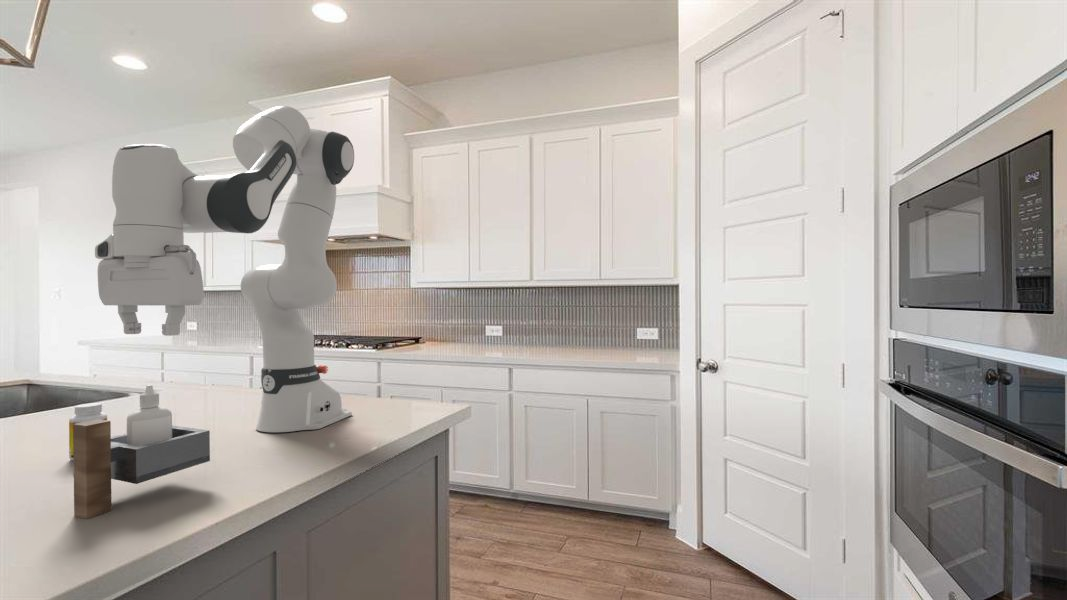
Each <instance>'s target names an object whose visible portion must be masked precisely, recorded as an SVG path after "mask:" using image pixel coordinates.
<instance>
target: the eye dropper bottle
mask: <svg viewBox="0 0 1067 600" xmlns="http://www.w3.org/2000/svg"><path fill="white" fill-rule="evenodd" d="M145 386H146V387H145V390H144V392H143V393H141V394H140V395H139V408H140V409H136V410H134V411H133V412H131V413H129V415H127V416H126V434H127V444H129V445H135V446H143V445H147V444H151V443H155V442H159V441H163V440H167V439H171V438H172V426H173V417H172V416H173V414H172V411H171V410H170V409H169V408H167V407H162V406H160V393H159V392H157V391H155V390H154V387H153V385H152V384H148V385H145Z"/></svg>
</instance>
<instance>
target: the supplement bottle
mask: <svg viewBox="0 0 1067 600" xmlns="http://www.w3.org/2000/svg"><path fill="white" fill-rule="evenodd" d="M97 419H100V420H107V421H108V415H107V413H106V412H103V404H102V403H101V402H91V403H81V404H78V405H75V406H74V415H72V416H71V417H70V418H69V419H68V440H69V441H68V447H69V449H68V450H69V451H68V454H69V455H68V456H69V459H70V461H72V462H74V458H73V424H76V423H81V422H86V421H92V420H97Z"/></svg>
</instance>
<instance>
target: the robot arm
mask: <svg viewBox="0 0 1067 600" xmlns="http://www.w3.org/2000/svg"><path fill="white" fill-rule="evenodd" d="M310 127H311V126H310V124H309V122H308V120H307V119H306V116H304V114H303V113H302V112H301V111H299V110H298V109H296V108H294V107H292V106H288V105H278V106H274V107H271V108H269V109H266V110H264V111H262V112H259V113H258V114H256V115H254V116H253V117H252V118H249V120H247V121H246V122H244V123H243V124H242V125H241V126H240V127H239V128H238V129H237V130H236V132H235V133H234V136H233V137H232V147H233V152H234V155H235V157H236V159H237V160H238V162H239V163H240V164H241V165H242V167H244V168H245V169H246V170H247V171H246V172H239V173H238V172H237V173H232V174H231V173H230V174H223V175H221V174H220V175H219V174H218V175H204V176H199V174H196V173H194V172H193V171H191V170H190V169H189V168H188V167H186V165H185V164H183V162H182V161H181V160H180V159H179V154H178V151H177V150H176V149H175V148H174V147H171V146H168V145H164V144H156V143H148V144H147V143H145V144H144V143H140V144H138V143H136V144H128V145H124V146H122V147H120V148H119V149H118V150H117V152H116V154H115V157H114V160H113V164H112V165H113V166H112V178H111V186H112V187H111V198H112V201H113V203H114V206H115V216H114V218H113V223H112V234H111V233H110V235H109V236H108V237H107V238H106V239H104V240H103V241H101V242H100V243H98V244H96V245H95V248H94V256H95V259H98V260H100V261H99V262H98V264H97V287H98V288H97V289H98V296H99V299H100V301H101V303H102V304H103V305H104V306H117V314H118V316H119V318H120V319H121V323H122V324H123V325H122V326H123V333H124V334H126V335H138V334H141V333H142V322H139V320H138V317H137V313H138V311H139V309H138V306H165V307H164V308H165V313H166V314H167V315H166V320H165V323H162V324H161V334H162V335H163V336H168V337H169V336H173V337H174V336H178V335H180V333H181V323H182V320H183V319H184V316H185V314H186V306H200V305H202V303H203V300H204V298H205V295H204V294H205V292H204V291H205V290H204V282H203V275H202V273H203V272H202V268H201V265H200V262H199V260H198V259H197V254H196V252H195V251H194V250H193V249H192V248H191V247H190V245H188V244H184V233H186V234H187V233H188V234H189V233H190V234H194V233H195V234H200V233H202V234H203V233H213V234H214V233H234V234H236V233H237V234H253V233H256V232H258V231H259V230H261V229H262V228H263V227H264V226H265V224H266V223H267V222H268V220H269V217H270V216H271V213H272V210H273V206H274V203H275V201H276V200H277V199H278V197H279V195H280V193H281V192H282V191H283V190H284V188H285V186H286V185H287V184H288V182H289V180H290V179H291V177H292V175H296V181H295V182H294V184H293V187H292V189H291V191H290V192H289V195H288V198H287V201H286V204H285V207H284V211H283V214H282V218H281V221H280V224H279V228H278V230H277V238H278V240H279V241H280V242H281V244H282V245H283V246H284V260H283V261H282V262H281V263H268V264H267V263H266V264H263V265H260V266H257V267H254V268H252V269H249V270H248V271H246V273H244V275H243V277H242V278H241V282H240V292H241V294H242V297H243V298H244V300H245V301H246V303H249V305H250V306H251V307H252V309H253V312H254V313H255V316H256V318H257V321H258V325H259V327H260V332H261V339H262V359H263V360H262V361H263V362H262V363H263V367H262V368H261V372H260V374H261V375H260V376H261V377H260V380H261V381H260V383H261V388H262V396H261V404H260V411H259V416H258V418H257V419H258V420H257V423H256V426H255V430H256V431H259V432H261V433H262V432H264V433H289V432H296V431H308V430H311V431H312V430H319V429H322V428H324V427H326V426H329V425H333V423H336V422H339V421H341V420H344V419H346V418H347V417H351V416H352V415H353V412H352V410H349V409H347V408H346V409H345V408H343V404H342V397H341V394H340V392H338V390H336V389H335V388H333V387H332V386H330V385H329V384H328V383H326V382H325V381H323V380H322V379H321V375H320V374H323V375H324V374H327V373H328V372H329V367H328V365H318V366H317V365H316V364H315V336H314V333H313V331H312V329H310V327H308V326H307V325H306V323H305V322H304V320H303V317H302V315H301V311H300V310H308V309H309V310H310V309H315V308H318V307H321V306H326V305H327V304H328V305H329V303H331V302H332V300H333V299H334V298H335V296H336V293H337V290H338V289H337V288H338V281H337V278H336V275H335V274H334V272H333V271H332V269H331V268H330V266H328V262H327V253H326V249H327V242H328V239H329V233H330V230H331V226H332V223H333V219H334V213H335V209H336V202H337V185H339V184H340V183H342V181H343V180H344V178H346V177H347V176H348V175H349V174H350V172H351V170H352V168H353V167H354V162H355V150H354V145H353V144H352V142H351V140H350V139H349V137H347V136H346V135H344V134H342V133H339V132H335V131H326V130H321V129H315V128H310Z"/></svg>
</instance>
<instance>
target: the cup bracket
mask: <svg viewBox="0 0 1067 600" xmlns="http://www.w3.org/2000/svg"><path fill="white" fill-rule="evenodd" d="M111 426H112V425H111V420H108V419H107V420H100V419H97V420H92V421H86V422H81V423H76V424H73V458H74V461H73V517H78V518H83V519H84V520H85V519H86V520H89V519H91V518H93V517H97V516H99V515H103V514H106V513H108V512H111V511H112V507H113V505H112V480H116V481H121V482H123V483H124V482H125V483H129V484H135V485H137V484H141V483H146V482H148V481H150V480H154V479H157V478H160V477H163V476H167V475H169V474H172V473H176V472H180V471H182V470H186V469H189V468H191V467H194V466H198V465H202V464H205V463H208V462H210V461H211V449H210V448H211V443H210V441H211V438H210V437H211V436H210V435H211V434H210V433H211V432H210V430H208V429H200V428H195V427H194V428H193V427H185V426H178V425H172V438H171V439H167V440H163V441H159V442H155V443H151V444H147V445H143V446H135V445H129V444H127V433H122V434H119V435H115V436H111V434H112V433H111V429H112V428H111Z"/></svg>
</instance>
